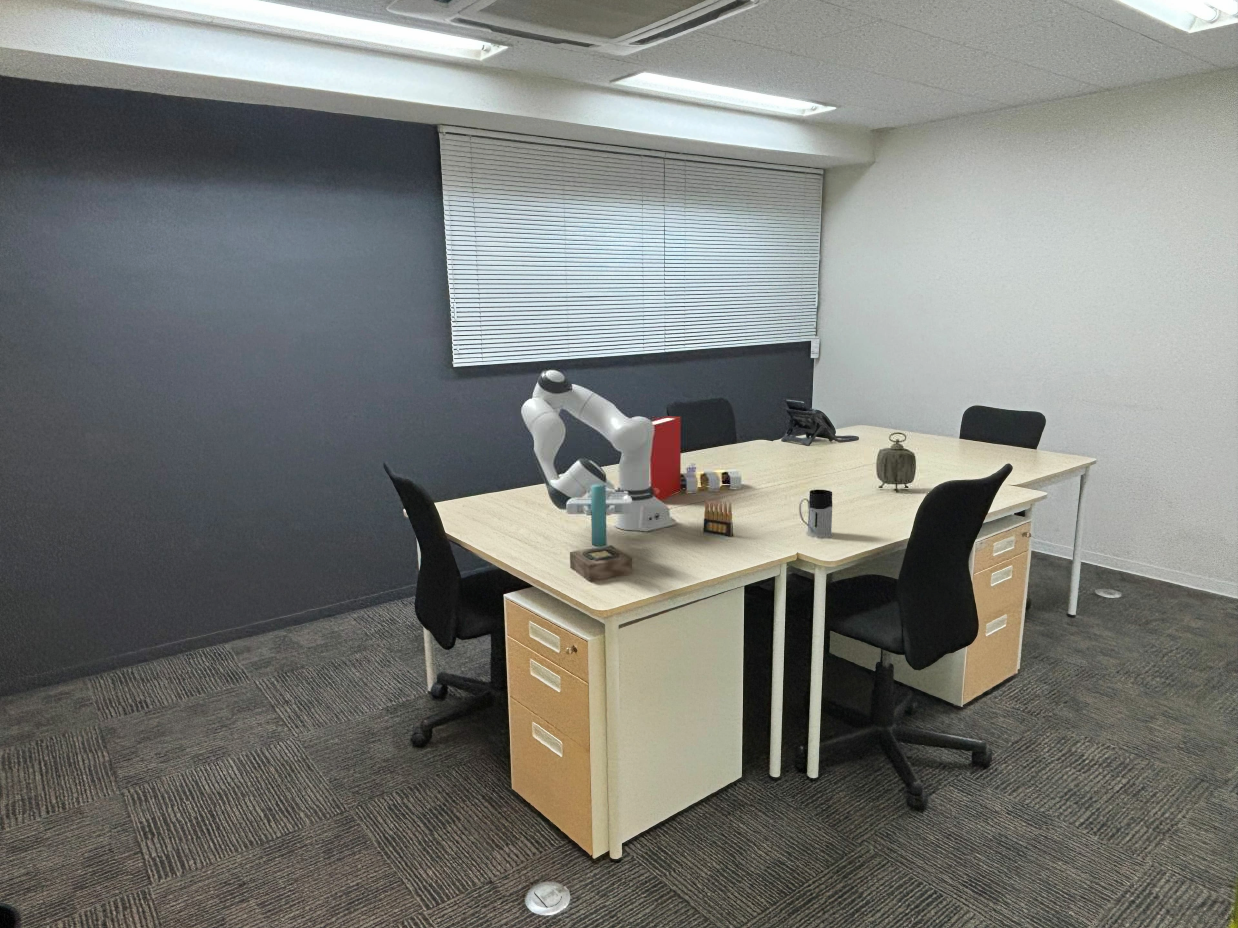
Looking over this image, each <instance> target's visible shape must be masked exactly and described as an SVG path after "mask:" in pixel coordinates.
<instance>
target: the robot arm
mask: <svg viewBox="0 0 1238 928" xmlns="http://www.w3.org/2000/svg"><path fill="white" fill-rule="evenodd" d="M562 410H564V411H565V410H566V411H567V412H568V413H569V414H571V416H572V417H573V416H574V418H576V419H577V420H580V421H581V422H583V423H584V424H586V425H587V426H588V427H590V428H592V429H594V430H596V431H597V432H598V433H600V434H601V435H602V436H603V437H604V438H605V439H606V440H608V441H609V442H610V443H611V445H612V446H613V448H614V449H615V450H616V451H618V452H621V456H620V460H619V463H618V487H617V489H616V488H615V485H614V484H613V483H612V482H611V480H609V479H607V474H606V472H605V471H604V469H603V468H602V467H601V466H600V464H598V463H597V462H595V461H594V460H592V459H589V458H579V459H578V460H577V461H576V462H574V463H573V464H572V465H571V466H570V467H569V469H567V470H566V471H565V473H563V474H562V475H561V476H560V477H559V475H558V473H557V470H556V468H555V467H554V463H555V462H554V461H555V458H556V456H557V454H558V451H559V449H560V447H561V446H562V444H563V443H564V440H565V436H566V425H565V424H564V421H563V420H562V418H561V417H560V416H559V414H560V413H561V411H562ZM520 413H521V416H522V419H523V421H524V424H525V425H526V428H527V429H528V430H529V432H530V434H531V435H532V438H533V442H534V443H533V445H534V447H533V450H532V455H533V458H534V460H535V463H536V465H537V468H538V470H539V472H540V474H541V476H542V477H541V478H542V479H543V482H544V483H545V486H546V490H547V493H548V497H549V498H550V500H551V502H552V504H553V505H554V506H555V507H556V508H557V509H559V510H562V511H563V510H564V511H565V510H566V511H565V512H566V514H567V515H586V516H591V485H594V484H604V485H606V516H612V515H616V519H615V523H614V526H615V527H616V528H617V529H621V530H625V531H637V532H638V531H639V532H649V531H655V530H657V529H663V528H666V527H671V526H675V525H677V520H676V519H675V518H674V517H672V516H671V512H670V509H669V507H668V506H667V504H666V503H664V502H662V500H659V499H657V498H656V497H654V494H653V493H655V494H658V493H659V491H658V489H657V488H652V487H650V486H649V466H650V457H651V451H652V442H653V436H654V432H655V428H654V425H653V423H652V422H651V421H650V420H651V419H649V418H648V417H644V416H639V415H638V416H634V417H631V418H630V417H628V416H626V415H625V414H623V412H621V411H620V410H619V409H618V408H617V407H616V405H615V404H614V403H612V402H611V401H609V400H607V399H606V398H604V397H602V396H600V395H599V394H597V393H596V392H593V391H592V390H590V389H588V388H585V387H583V386H581V385H577V384H574V383H572V382H571V381H570V380H569V379H568V377H567V376H566V375H565V374H564V373H562V372H561V371H560V370H557V369H553V368H552V369H551V368H550V369H545V370H543V371H542V372H541V373H540V374H539V377H538V378H537V383H536V385H535V387H534V390H533V392H532V398H528V400H526V401H525V402H524V403H523V405H522V406H521V411H520ZM586 495H587V497H585V496H586Z"/></svg>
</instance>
